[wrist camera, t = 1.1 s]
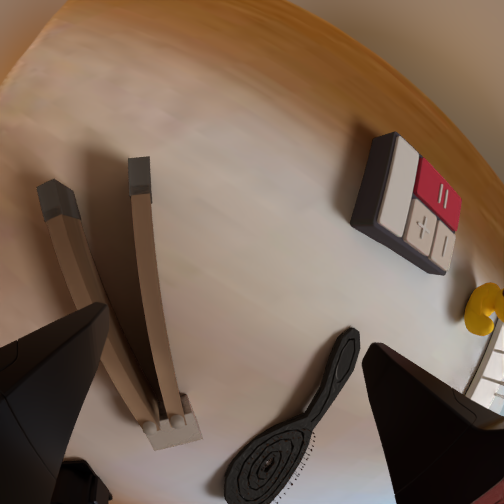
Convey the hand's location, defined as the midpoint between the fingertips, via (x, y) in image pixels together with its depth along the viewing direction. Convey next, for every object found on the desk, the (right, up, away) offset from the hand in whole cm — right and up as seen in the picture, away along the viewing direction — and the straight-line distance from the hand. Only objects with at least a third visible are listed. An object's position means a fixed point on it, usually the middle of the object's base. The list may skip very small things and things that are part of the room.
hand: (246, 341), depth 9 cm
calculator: (+18, +8, +23) cm, 30 cm away
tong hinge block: (-7, -12, +14) cm, 20 cm away
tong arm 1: (-8, 0, +13) cm, 15 cm away
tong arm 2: (-12, -1, +12) cm, 17 cm away
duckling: (+35, -5, +28) cm, 45 cm away
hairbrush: (+4, -16, +19) cm, 25 cm away
